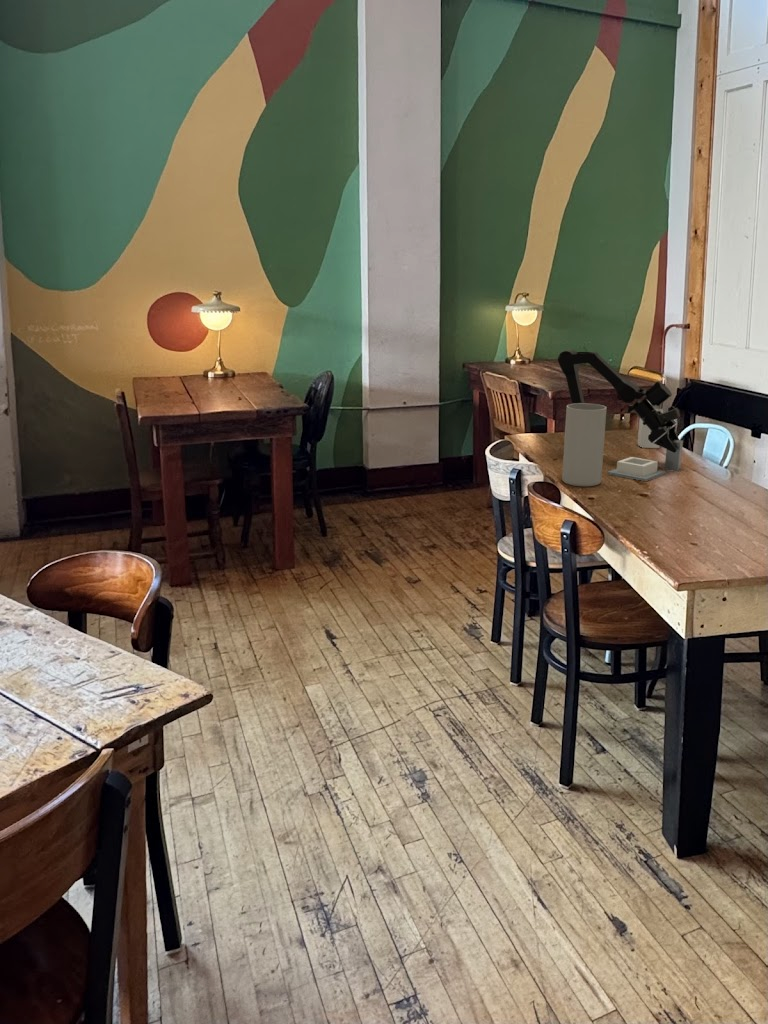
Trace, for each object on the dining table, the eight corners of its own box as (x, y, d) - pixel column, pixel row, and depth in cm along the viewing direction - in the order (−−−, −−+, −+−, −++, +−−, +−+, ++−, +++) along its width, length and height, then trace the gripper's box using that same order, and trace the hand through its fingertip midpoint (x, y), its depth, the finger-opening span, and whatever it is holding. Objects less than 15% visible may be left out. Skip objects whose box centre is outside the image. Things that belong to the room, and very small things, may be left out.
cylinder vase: (572, 488, 282) (578, 411, 275) (555, 478, 294) (559, 404, 287) (607, 485, 286) (613, 409, 278) (589, 476, 297) (594, 402, 290)
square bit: (677, 471, 304) (680, 442, 301) (664, 469, 306) (667, 441, 303) (680, 468, 308) (682, 440, 305) (667, 467, 310) (669, 439, 307)
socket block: (645, 481, 290) (646, 468, 289) (607, 474, 299) (608, 461, 298) (665, 474, 300) (666, 461, 299) (628, 467, 309) (629, 454, 308)
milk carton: (655, 444, 344) (660, 396, 339) (659, 448, 337) (664, 399, 332) (637, 444, 345) (641, 395, 339) (640, 448, 338) (644, 399, 333)
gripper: (661, 403, 294) (692, 439, 292) (672, 395, 309) (702, 429, 308) (635, 424, 300) (665, 460, 298) (647, 415, 315) (676, 449, 313)
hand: (678, 449), depth 304 cm, fingers open, 9 cm apart
